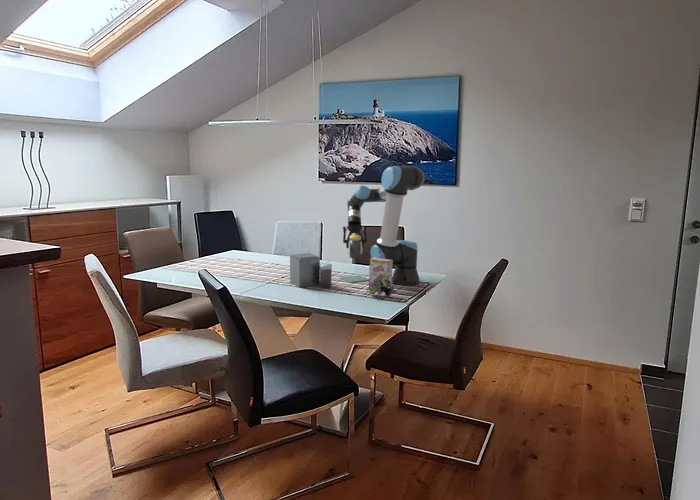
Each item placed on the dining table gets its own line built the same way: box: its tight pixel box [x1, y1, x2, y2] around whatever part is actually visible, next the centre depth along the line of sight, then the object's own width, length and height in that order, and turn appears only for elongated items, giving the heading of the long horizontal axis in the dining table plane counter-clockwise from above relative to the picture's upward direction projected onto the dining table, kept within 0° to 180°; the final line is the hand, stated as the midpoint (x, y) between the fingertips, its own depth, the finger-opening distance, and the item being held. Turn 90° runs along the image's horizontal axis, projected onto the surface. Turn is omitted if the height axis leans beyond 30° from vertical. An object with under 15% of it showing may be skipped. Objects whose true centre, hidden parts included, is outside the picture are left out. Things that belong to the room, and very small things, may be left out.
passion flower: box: [367, 279, 397, 299], centre depth 254 cm, size 11×11×12 cm
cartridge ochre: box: [349, 234, 361, 259], centre depth 287 cm, size 6×6×12 cm
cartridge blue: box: [319, 263, 333, 289], centre depth 272 cm, size 6×6×12 cm
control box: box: [289, 252, 321, 288], centre depth 278 cm, size 12×12×16 cm
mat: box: [339, 274, 369, 284], centre depth 290 cm, size 12×12×1 cm
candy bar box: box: [368, 257, 393, 293], centre depth 267 cm, size 11×5×16 cm, turn 59°
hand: (355, 252), depth 284 cm, fingers closed on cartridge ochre, 6 cm apart
